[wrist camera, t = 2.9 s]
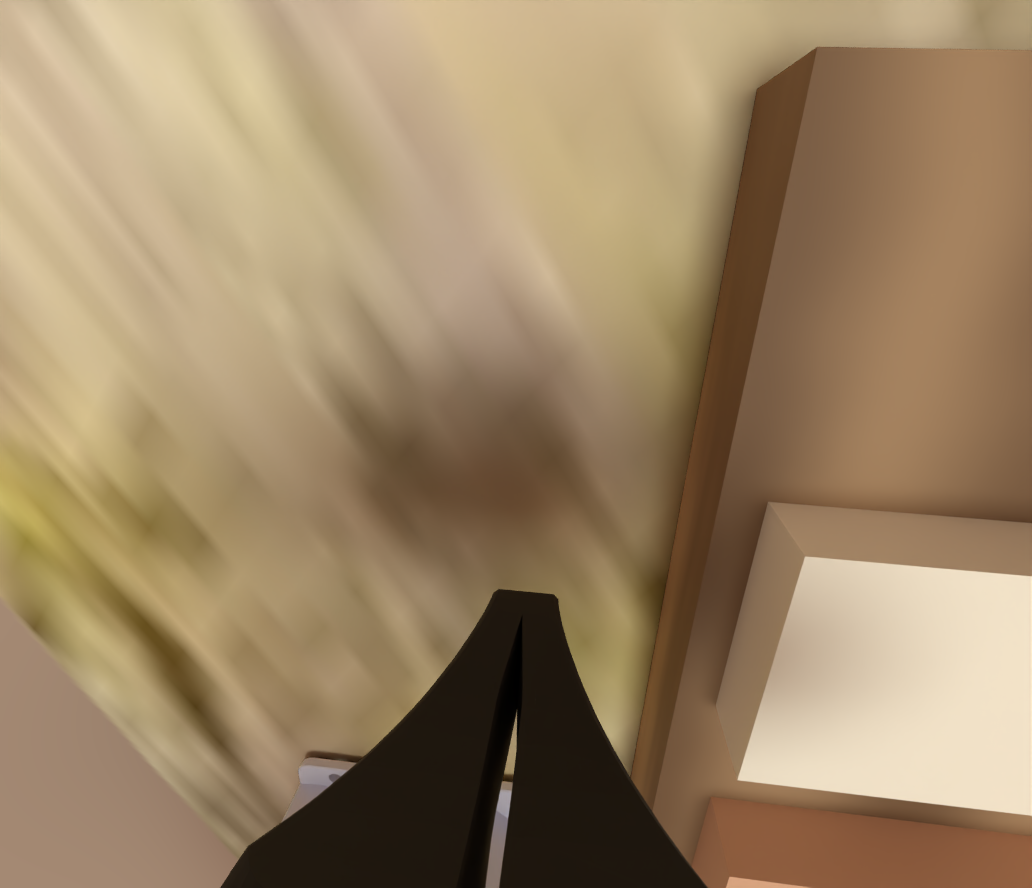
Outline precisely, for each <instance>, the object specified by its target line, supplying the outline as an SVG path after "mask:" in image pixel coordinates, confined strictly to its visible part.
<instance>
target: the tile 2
mask: <svg viewBox="0 0 1032 888" xmlns="http://www.w3.org/2000/svg"><path fill="white" fill-rule="evenodd" d="M691 867H692V868H693V869H694V870H695V872H696V873H697V874H698V876H699V877H700V878H701V880H702V881H703V882H704V883H705V885H706V886H707V887H708V888H1032V836H1025V835H1017V834H1009V833H1001V832H993V831H985V830H977V829H969V828H961V827H952V826H944V825H936V824H928V823H920V822H912V821H904V820H896V819H888V818H880V817H871V816H863V815H855V814H847V813H839V812H831V811H823V810H815V809H807V808H799V807H791V806H782V805H774V804H766V803H758V802H750V801H742V800H734V799H726V798H718V797H711V798H710V801H709V805H708V808H707V812H706V816H705V819H704V823H703V826H702V830H701V834H700V837H699V841H698V844H697V848H696V852H695V855H694V859H693V862H692V866H691Z"/></svg>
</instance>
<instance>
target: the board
mask: <svg viewBox="0 0 1032 888" xmlns="http://www.w3.org/2000/svg"><path fill="white" fill-rule="evenodd" d="M768 502H776V503H788V504H801V505H813V506H826V507H838V508H850V509H863V510H875V511H887V512H900V513H912V514H925V515H937V516H949V517H962V518H974V519H987V520H999V521H1011V522H1024V523H1032V50H972V49H910V48H848V47H817V48H815V49H814V50H812V51H811V52H810V53H808V54H807V55H805V56H804V57H802V58H801V59H800V60H798V61H797V62H795V63H794V64H792V65H791V66H790V67H788V68H787V69H785V70H784V71H782V72H781V73H780V74H778V75H777V76H775V77H774V78H772V79H771V80H770V81H768V82H767V83H765V84H764V85H762V86H761V87H760V88H758V89H757V93H756V98H755V104H754V109H753V115H752V120H751V125H750V131H749V136H748V142H747V147H746V153H745V158H744V164H743V169H742V174H741V180H740V185H739V191H738V196H737V202H736V207H735V213H734V218H733V223H732V229H731V234H730V240H729V245H728V251H727V256H726V262H725V267H724V272H723V278H722V283H721V289H720V294H719V300H718V305H717V311H716V316H715V321H714V327H713V332H712V338H711V343H710V349H709V354H708V359H707V365H706V370H705V376H704V381H703V387H702V392H701V398H700V403H699V408H698V414H697V419H696V425H695V430H694V436H693V441H692V447H691V452H690V457H689V463H688V468H687V474H686V479H685V485H684V490H683V496H682V501H681V506H680V512H679V517H678V523H677V528H676V534H675V539H674V545H673V550H672V555H671V561H670V566H669V572H668V577H667V583H666V588H665V594H664V599H663V604H662V610H661V615H660V621H659V626H658V632H657V637H656V643H655V648H654V653H653V659H652V664H651V670H650V675H649V681H648V686H647V691H646V697H645V702H644V708H643V713H642V719H641V724H640V730H639V735H638V740H637V746H636V751H635V757H634V762H633V768H632V773H631V780H632V781H633V783H634V784H635V786H636V787H637V789H638V790H639V792H640V794H641V795H642V797H643V798H644V800H645V801H646V803H647V804H648V806H649V807H650V809H651V810H652V812H653V814H654V815H655V817H656V818H657V820H658V821H659V823H660V824H661V826H662V827H663V828H664V830H665V831H666V833H667V834H668V835H669V837H670V838H671V839H672V841H673V842H674V844H675V845H676V846H677V848H678V849H679V851H680V852H681V853H682V855H683V856H684V857H685V859H686V860H687V861H688V863H689V864H690V865H691V866H692V862H693V859H694V855H695V852H696V848H697V844H698V841H699V837H700V834H701V830H702V826H703V823H704V819H705V816H706V812H707V808H708V805H709V801H710V798H711V797H718V798H726V799H734V800H742V801H750V802H758V803H766V804H774V805H782V806H791V807H799V808H807V809H815V810H823V811H831V812H839V813H847V814H855V815H863V816H871V817H880V818H888V819H896V820H904V821H912V822H920V823H928V824H936V825H944V826H952V827H961V828H969V829H977V830H985V831H993V832H1001V833H1009V834H1017V835H1025V836H1032V816H1030V815H1022V814H1013V813H1005V812H997V811H989V810H980V809H972V808H964V807H955V806H947V805H939V804H930V803H922V802H914V801H906V800H897V799H889V798H881V797H872V796H864V795H856V794H848V793H839V792H831V791H823V790H814V789H806V788H798V787H790V786H781V785H773V784H765V783H756V782H748V781H740V780H737V777H736V774H735V770H734V767H733V763H732V760H731V756H730V753H729V749H728V746H727V743H726V739H725V736H724V732H723V729H722V725H721V722H720V718H719V715H718V711H717V708H716V702H717V698H718V694H719V691H720V687H721V683H722V679H723V675H724V671H725V667H726V663H727V660H728V656H729V652H730V648H731V644H732V640H733V636H734V632H735V628H736V625H737V621H738V617H739V613H740V609H741V605H742V601H743V597H744V593H745V590H746V586H747V582H748V578H749V574H750V570H751V566H752V562H753V558H754V555H755V551H756V547H757V543H758V539H759V535H760V531H761V527H762V523H763V520H764V516H765V512H766V508H767V504H768Z"/></svg>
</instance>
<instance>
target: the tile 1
mask: <svg viewBox="0 0 1032 888" xmlns="http://www.w3.org/2000/svg"><path fill="white" fill-rule="evenodd" d="M716 708H717V711H718V715H719V718H720V722H721V725H722V729H723V732H724V736H725V739H726V743H727V746H728V749H729V753H730V756H731V760H732V763H733V767H734V770H735V774H736V777H737V780H740V781H748V782H756V783H765V784H773V785H781V786H790V787H798V788H806V789H814V790H823V791H831V792H839V793H848V794H856V795H864V796H872V797H881V798H889V799H897V800H906V801H914V802H922V803H930V804H939V805H947V806H955V807H964V808H972V809H980V810H989V811H997V812H1005V813H1013V814H1022V815H1030V816H1032V523H1024V522H1011V521H999V520H987V519H974V518H962V517H949V516H937V515H925V514H912V513H900V512H887V511H875V510H863V509H850V508H838V507H826V506H813V505H801V504H788V503H776V502H768V504H767V508H766V512H765V516H764V520H763V523H762V527H761V531H760V535H759V539H758V543H757V547H756V551H755V555H754V558H753V562H752V566H751V570H750V574H749V578H748V582H747V586H746V590H745V593H744V597H743V601H742V605H741V609H740V613H739V617H738V621H737V625H736V628H735V632H734V636H733V640H732V644H731V648H730V652H729V656H728V660H727V663H726V667H725V671H724V675H723V679H722V683H721V687H720V691H719V694H718V698H717V702H716Z"/></svg>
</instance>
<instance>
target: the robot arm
mask: <svg viewBox="0 0 1032 888" xmlns="http://www.w3.org/2000/svg"><path fill="white" fill-rule="evenodd" d="M516 712H517V752H516V760H515V768H514V776H513V782H506V781H502V780H503V775H504V770H505V765H506V761H507V756H508V751H509V746H510V741H511V736H512V731H513V726H514V722H515V717H516ZM298 774H299V780H300V785H299V787H298V789H297V791H296V793H295V795H294V797H293V799H292V801H291V803H290V805H289V807H288V809H287V811H286V813H285V816H284V818H283V820H282V822H281V823H280V824H279V825H277V826H276V827H274V828H273V829H272V830H270V831H269V832H267V833H266V834H265V835H263V836H262V837H261V838H259V839H258V840H256V841H255V842H253V843H252V844H250V845H249V846H248V847H247V849H246V850H245V851H244V853H243V854H242V856H241V857H240V859H239V860H238V862H237V863H236V865H235V866H234V868H233V869H232V870H231V872H230V874H229V875H228V877H227V879H226V880H225V882H224V883H223V885H222V886H221V888H708V887H707V886H706V885H705V883H704V882H703V881H702V880H701V878H700V877H699V876H698V874H697V873H696V872H695V870H694V869H693V868H692V867H691V865H690V864H689V863H688V861H687V860H686V859H685V857H684V856H683V855H682V853H681V852H680V851H679V849H678V848H677V846H676V845H675V844H674V842H673V841H672V839H671V838H670V837H669V835H668V834H667V833H666V831H665V830H664V828H663V827H662V826H661V824H660V823H659V821H658V820H657V818H656V817H655V815H654V814H653V812H652V810H651V809H650V807H649V806H648V804H647V803H646V801H645V800H644V798H643V797H642V795H641V794H640V792H639V790H638V789H637V787H636V786H635V784H634V783H633V781H632V780H631V778H630V777H629V775H628V773H627V771H626V770H625V768H624V766H623V765H622V763H621V761H620V759H619V758H618V756H617V754H616V752H615V751H614V749H613V747H612V745H611V743H610V741H609V739H608V738H607V736H606V734H605V732H604V730H603V728H602V726H601V724H600V722H599V720H598V718H597V716H596V714H595V712H594V709H593V707H592V705H591V703H590V701H589V698H588V696H587V694H586V692H585V689H584V687H583V684H582V682H581V679H580V677H579V675H578V672H577V669H576V666H575V664H574V661H573V658H572V655H571V653H570V650H569V647H568V643H567V640H566V637H565V633H564V630H563V626H562V622H561V617H560V611H559V604H558V599H557V598H556V596H555V595H554V594H543V593H533V592H523V591H512V590H502V589H498V590H497V591H496V592H494V593H493V595H492V598H491V600H490V602H489V604H488V606H487V608H486V610H485V612H484V613H483V615H482V617H481V618H480V620H479V622H478V623H477V625H476V627H475V628H474V630H473V631H472V633H471V634H470V636H469V637H468V639H467V640H466V642H465V643H464V645H463V646H462V648H461V649H460V650H459V652H458V653H457V655H456V656H455V658H454V659H453V660H452V662H451V663H450V664H449V665H448V667H447V668H446V669H445V671H444V672H443V673H442V674H441V676H440V677H439V678H438V679H437V681H436V682H435V683H434V685H433V686H432V687H431V688H430V689H429V691H428V692H427V693H426V694H425V695H424V696H423V698H422V699H421V700H420V701H419V702H418V703H417V704H416V705H415V707H414V708H413V709H412V710H411V711H410V712H409V713H408V714H407V715H406V716H405V717H404V718H403V719H402V720H401V722H400V723H399V724H398V725H397V726H396V727H395V728H394V729H392V730H391V731H390V732H389V733H388V734H387V735H386V736H385V737H384V738H383V739H382V740H381V741H380V742H379V743H378V744H377V745H376V746H375V747H374V748H373V749H372V750H371V751H370V752H369V753H368V754H366V755H365V756H364V757H363V758H362V759H361V760H360V761H359V762H358V763H354V762H346V761H338V760H330V759H322V758H314V757H313V758H306V759H304V760H303V761H302V763H301V765H300V767H299V769H298Z"/></svg>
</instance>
